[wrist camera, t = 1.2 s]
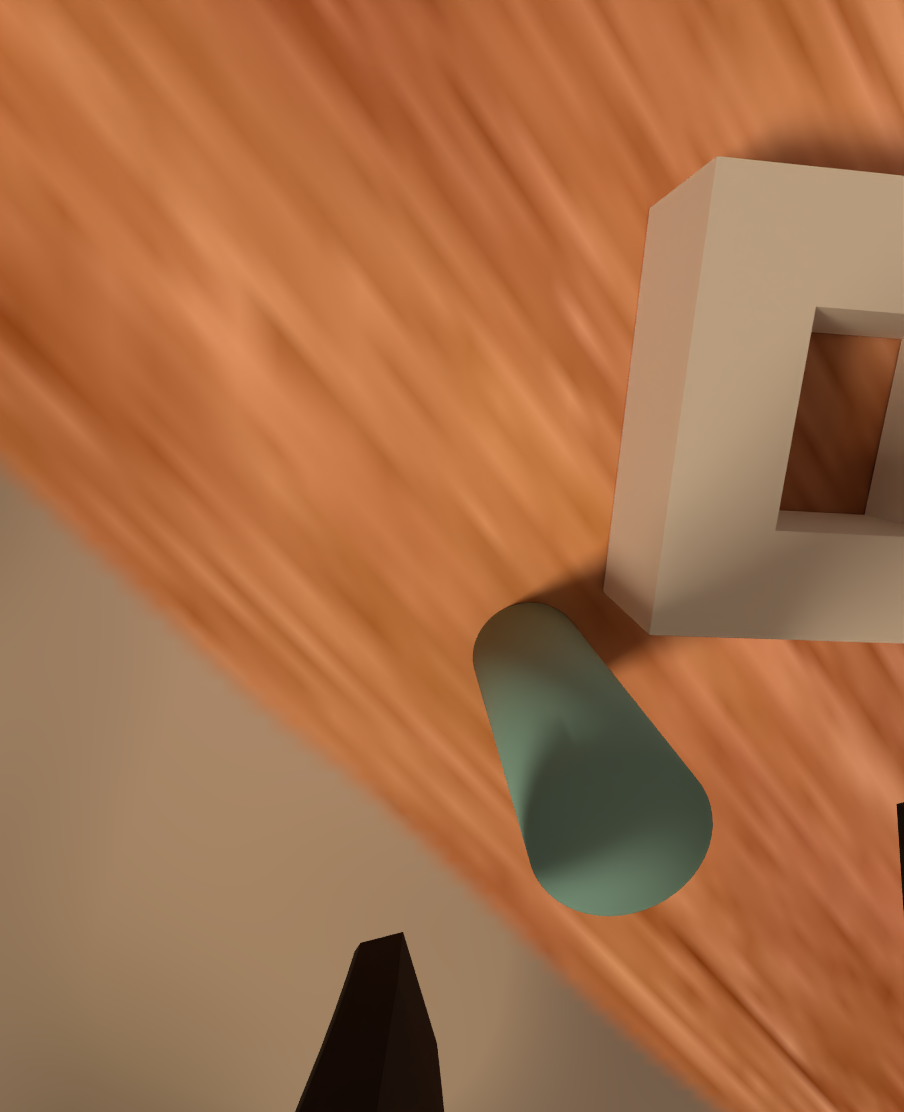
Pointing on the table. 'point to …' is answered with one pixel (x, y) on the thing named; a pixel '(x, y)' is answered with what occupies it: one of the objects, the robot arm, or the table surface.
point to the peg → (586, 769)
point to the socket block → (756, 408)
